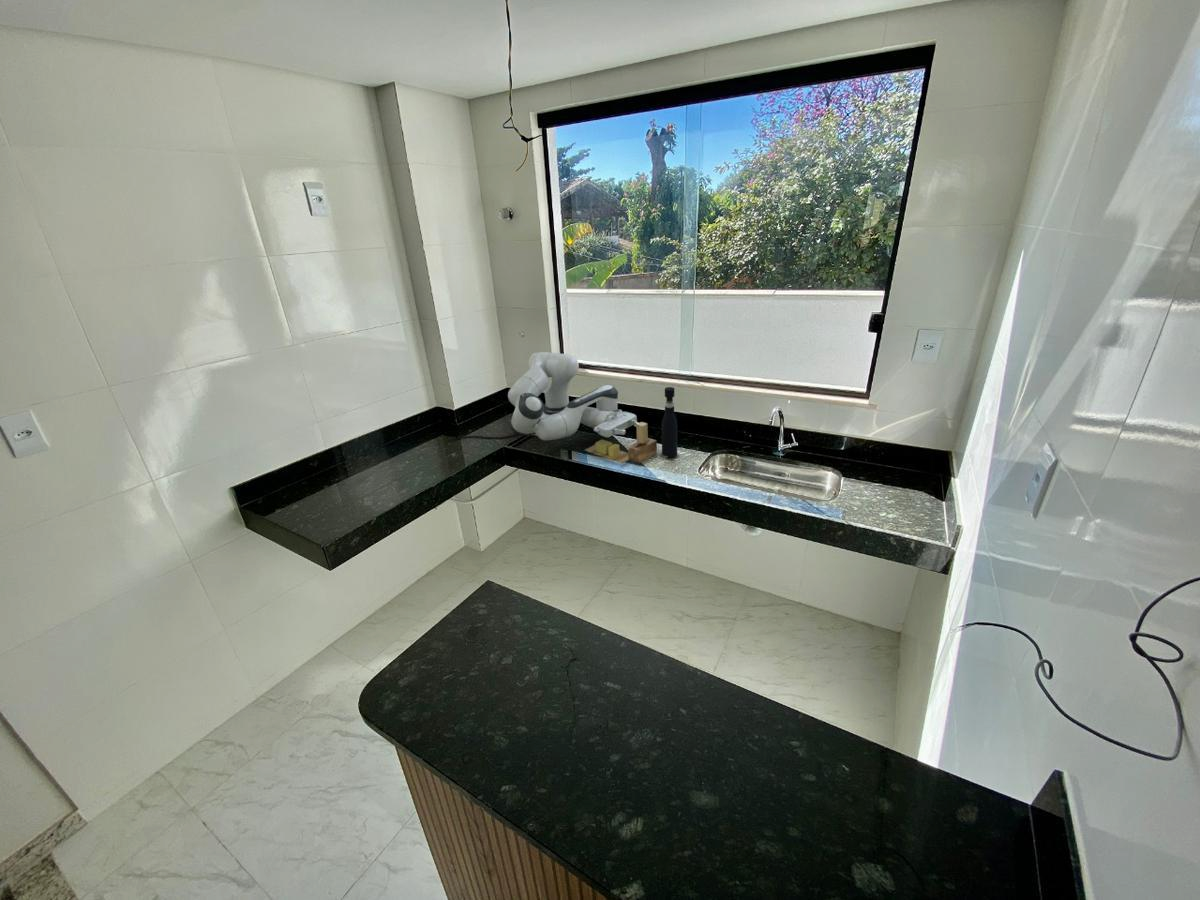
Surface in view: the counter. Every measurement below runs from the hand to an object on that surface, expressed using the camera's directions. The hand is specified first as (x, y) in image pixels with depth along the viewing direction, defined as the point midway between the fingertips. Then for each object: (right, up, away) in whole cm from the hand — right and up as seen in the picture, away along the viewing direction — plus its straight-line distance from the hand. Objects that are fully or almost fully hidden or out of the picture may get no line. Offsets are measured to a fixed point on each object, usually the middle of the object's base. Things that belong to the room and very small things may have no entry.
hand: (631, 428), depth 204 cm
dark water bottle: (+16, -11, +3) cm, 20 cm away
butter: (-12, -9, +8) cm, 17 cm away
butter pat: (-7, -11, +5) cm, 14 cm away
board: (-9, -11, +7) cm, 16 cm away
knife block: (+5, -12, +2) cm, 14 cm away
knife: (+5, -12, +2) cm, 14 cm away
